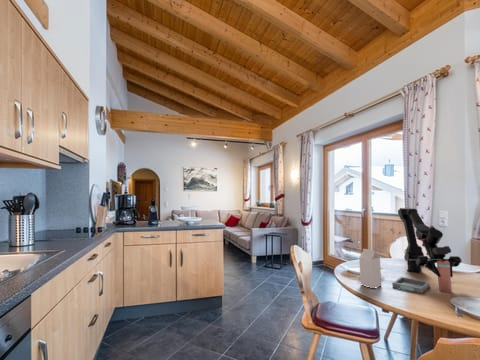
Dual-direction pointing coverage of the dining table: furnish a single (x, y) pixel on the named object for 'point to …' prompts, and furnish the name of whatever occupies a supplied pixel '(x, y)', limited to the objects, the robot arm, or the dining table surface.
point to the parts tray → (411, 285)
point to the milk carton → (370, 268)
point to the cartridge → (444, 276)
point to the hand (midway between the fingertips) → (445, 276)
